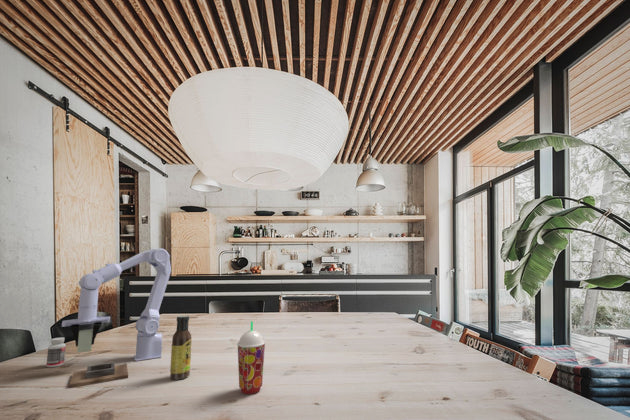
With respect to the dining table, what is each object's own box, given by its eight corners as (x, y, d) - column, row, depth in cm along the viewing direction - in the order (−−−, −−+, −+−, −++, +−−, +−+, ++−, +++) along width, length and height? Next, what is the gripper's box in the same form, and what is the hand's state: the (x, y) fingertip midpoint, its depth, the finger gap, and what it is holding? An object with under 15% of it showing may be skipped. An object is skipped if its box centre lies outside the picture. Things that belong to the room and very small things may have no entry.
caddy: (126, 366, 122) (127, 358, 122) (128, 377, 110) (128, 368, 110) (73, 375, 114) (74, 365, 114) (69, 388, 102) (69, 378, 102)
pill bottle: (63, 366, 123) (66, 339, 125) (45, 368, 120) (48, 341, 122) (64, 362, 128) (67, 336, 129) (47, 365, 125) (49, 338, 126)
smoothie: (238, 385, 102) (240, 319, 105) (265, 384, 103) (266, 318, 106) (234, 396, 94) (236, 324, 97) (263, 395, 95) (264, 323, 97)
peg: (91, 348, 121) (93, 328, 122) (90, 351, 118) (92, 330, 119) (78, 350, 119) (80, 330, 120) (77, 352, 116) (78, 332, 117)
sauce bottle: (188, 379, 108) (191, 317, 111) (168, 381, 106) (171, 318, 109) (191, 373, 114) (193, 314, 117) (171, 374, 113) (174, 314, 115)
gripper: (62, 309, 114) (58, 350, 112) (111, 306, 121) (108, 344, 119) (64, 307, 120) (61, 346, 118) (111, 303, 127) (108, 340, 125)
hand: (84, 345), depth 119 cm, fingers closed on peg, 4 cm apart
